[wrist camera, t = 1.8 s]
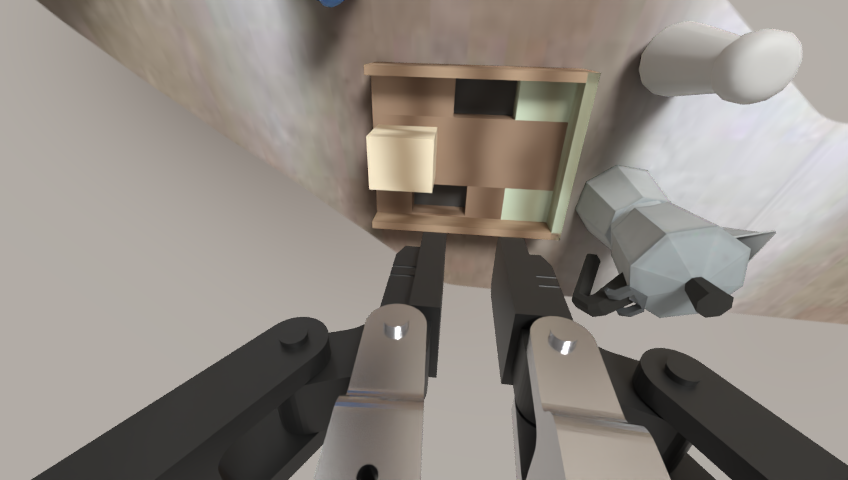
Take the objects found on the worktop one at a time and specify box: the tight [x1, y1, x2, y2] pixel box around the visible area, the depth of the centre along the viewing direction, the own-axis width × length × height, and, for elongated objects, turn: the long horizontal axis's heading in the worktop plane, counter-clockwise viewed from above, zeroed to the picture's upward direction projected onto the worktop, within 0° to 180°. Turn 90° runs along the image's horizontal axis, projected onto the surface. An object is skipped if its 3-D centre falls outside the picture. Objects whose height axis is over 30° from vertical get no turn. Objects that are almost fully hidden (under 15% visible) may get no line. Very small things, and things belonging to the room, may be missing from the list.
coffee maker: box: [572, 165, 776, 318], centre depth 32 cm, size 15×9×18 cm, turn 127°
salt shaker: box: [639, 21, 803, 104], centre depth 27 cm, size 6×6×13 cm
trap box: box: [364, 62, 601, 240], centre depth 36 cm, size 20×16×5 cm
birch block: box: [366, 125, 437, 193], centre depth 34 cm, size 6×5×5 cm
